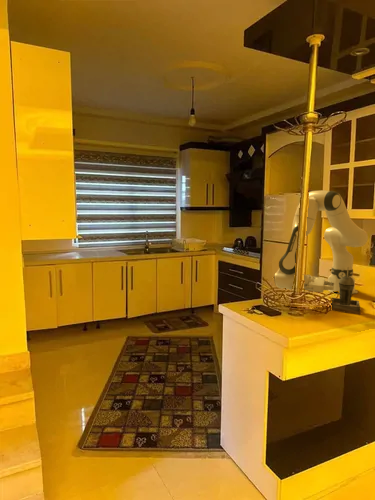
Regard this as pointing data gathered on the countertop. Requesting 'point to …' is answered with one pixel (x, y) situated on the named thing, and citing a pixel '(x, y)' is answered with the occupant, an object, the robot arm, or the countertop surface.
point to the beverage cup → (346, 289)
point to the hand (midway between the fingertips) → (333, 286)
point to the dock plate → (346, 306)
